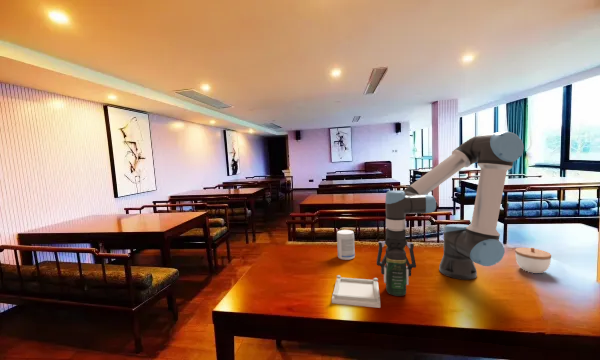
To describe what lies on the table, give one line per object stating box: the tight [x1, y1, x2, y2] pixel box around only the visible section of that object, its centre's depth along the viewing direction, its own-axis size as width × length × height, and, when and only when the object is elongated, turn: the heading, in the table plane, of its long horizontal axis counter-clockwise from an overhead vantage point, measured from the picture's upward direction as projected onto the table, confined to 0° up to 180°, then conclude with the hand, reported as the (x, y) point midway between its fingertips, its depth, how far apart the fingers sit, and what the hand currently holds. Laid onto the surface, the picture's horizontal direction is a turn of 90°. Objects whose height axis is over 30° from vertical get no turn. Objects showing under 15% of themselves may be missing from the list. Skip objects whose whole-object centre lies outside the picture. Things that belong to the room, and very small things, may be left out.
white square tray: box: [331, 274, 381, 309], centre depth 108 cm, size 18×18×3 cm
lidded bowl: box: [514, 247, 552, 274], centre depth 123 cm, size 13×13×11 cm
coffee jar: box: [385, 246, 407, 297], centre depth 108 cm, size 10×8×19 cm
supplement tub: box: [336, 229, 356, 261], centre depth 148 cm, size 10×10×15 cm
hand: (395, 282), depth 108 cm, fingers closed on coffee jar, 8 cm apart
